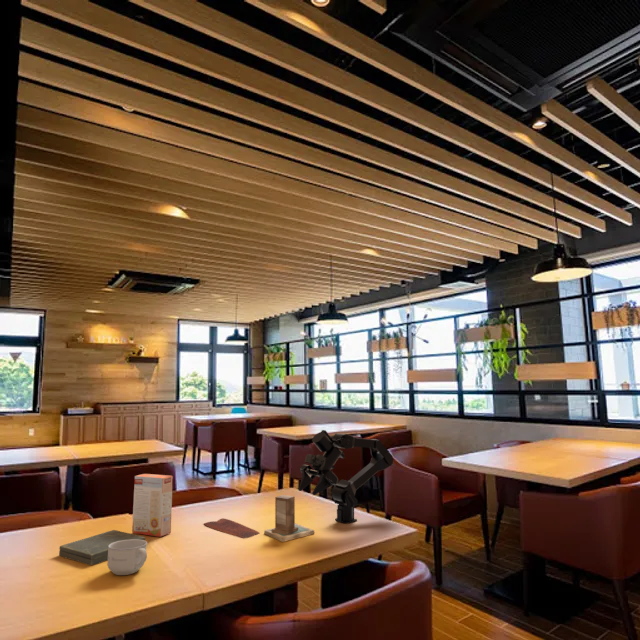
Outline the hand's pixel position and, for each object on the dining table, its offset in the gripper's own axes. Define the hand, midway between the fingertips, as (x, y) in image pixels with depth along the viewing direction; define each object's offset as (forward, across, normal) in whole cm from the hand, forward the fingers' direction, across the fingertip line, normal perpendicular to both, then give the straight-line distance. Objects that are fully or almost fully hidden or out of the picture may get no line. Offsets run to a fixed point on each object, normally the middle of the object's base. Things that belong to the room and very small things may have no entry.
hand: (306, 492), depth 178 cm
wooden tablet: (+26, -19, -5) cm, 32 cm away
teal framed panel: (+15, 0, +4) cm, 16 cm away
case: (+57, -23, -37) cm, 72 cm away
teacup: (+56, +2, -36) cm, 66 cm away
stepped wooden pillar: (+15, 0, +2) cm, 16 cm away
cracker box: (+44, -33, -24) cm, 59 cm away
